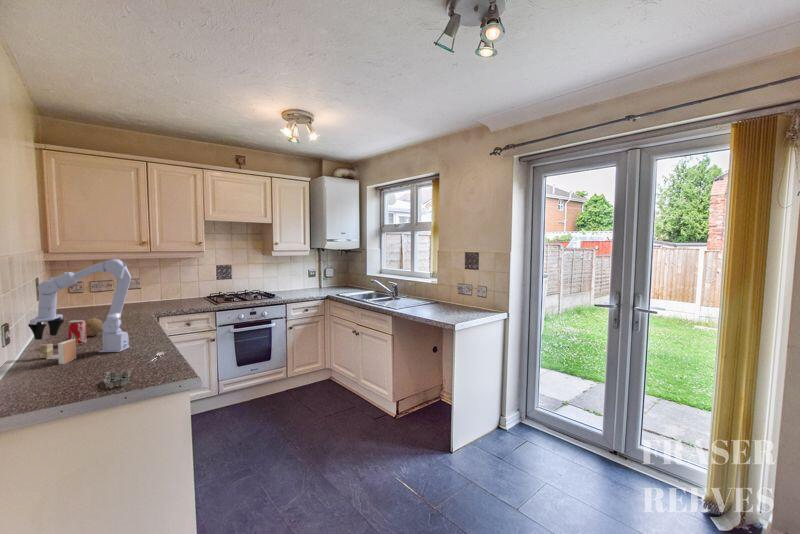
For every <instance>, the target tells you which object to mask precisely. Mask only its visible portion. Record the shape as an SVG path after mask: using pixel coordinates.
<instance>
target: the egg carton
mask: <svg viewBox="0 0 800 534" xmlns="http://www.w3.org/2000/svg"><path fill="white" fill-rule="evenodd" d="M131 373H132V370H130V369H129V370H125V371H124V372H123V371H119V373H116V371H109V370H107V371H106V374H105V377H104V385H105V388H106V387H113V386H115V385H124V384H126V383H129V384H130V378H129V377H131ZM123 376H125V378H121V377H123ZM111 378H114V380H111ZM110 381H111V383H110Z"/></svg>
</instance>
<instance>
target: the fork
mask: <svg viewBox="0 0 800 534" xmlns="http://www.w3.org/2000/svg"><path fill="white" fill-rule="evenodd" d="M162 354H163V355H164V354H165V353H164V351H161V352H160V351H158V352H157V353H156V355H157V356H158V355H159V356H160V355H162ZM156 355H155V356H156ZM153 358H154V357H153ZM153 358H152V359H151V361H153V360H154V359H156V358H157V357H156V358H154V359H153ZM156 360H157V359H156Z"/></svg>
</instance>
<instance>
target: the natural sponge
mask: <svg viewBox="0 0 800 534" xmlns="http://www.w3.org/2000/svg"><path fill="white" fill-rule="evenodd" d="M84 322H85V323H86V332H87V336H89V337H95V336H97V335H98V334H99V333H102V332H103V330H102V324H103V323H104V322H103V321H102V320H101V319H99V318H96V317H92V318H88V319H87V320H84Z"/></svg>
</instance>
